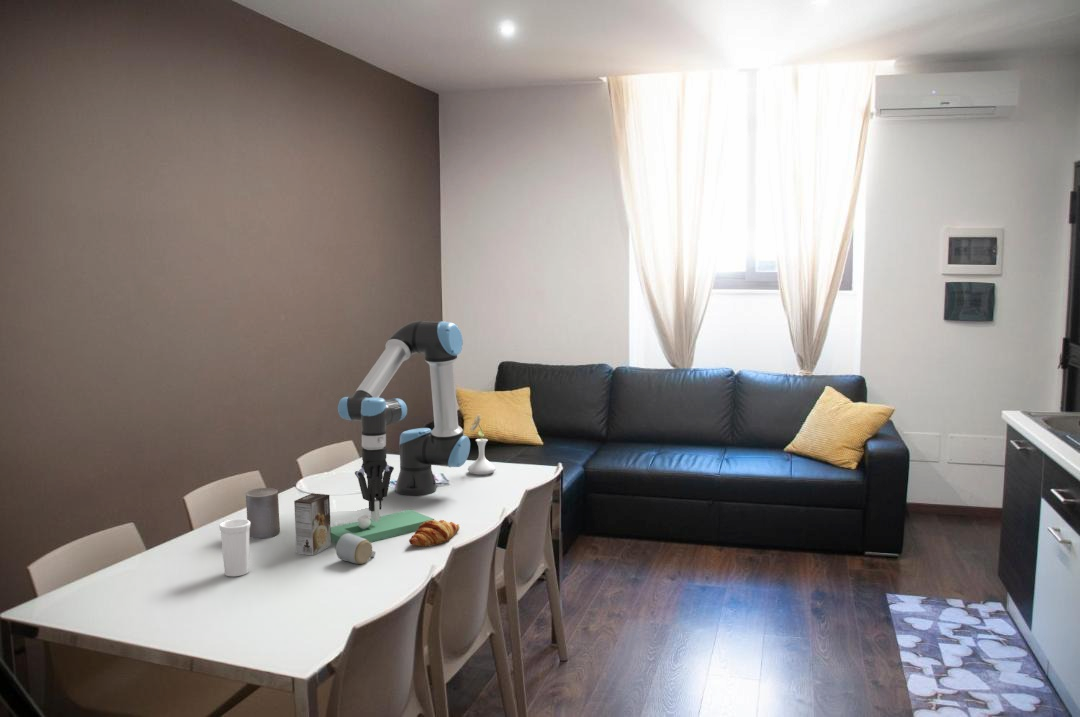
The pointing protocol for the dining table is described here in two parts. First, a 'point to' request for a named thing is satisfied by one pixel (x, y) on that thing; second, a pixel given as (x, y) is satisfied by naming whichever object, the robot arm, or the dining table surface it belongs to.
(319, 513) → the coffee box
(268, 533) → the pillar candle
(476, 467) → the flower in vase
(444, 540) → the croissant
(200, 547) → the dining table surface
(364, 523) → the ball
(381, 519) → the green slotted board
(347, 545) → the ceramic mug
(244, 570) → the cup
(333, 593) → the dining table surface
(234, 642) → the dining table surface
